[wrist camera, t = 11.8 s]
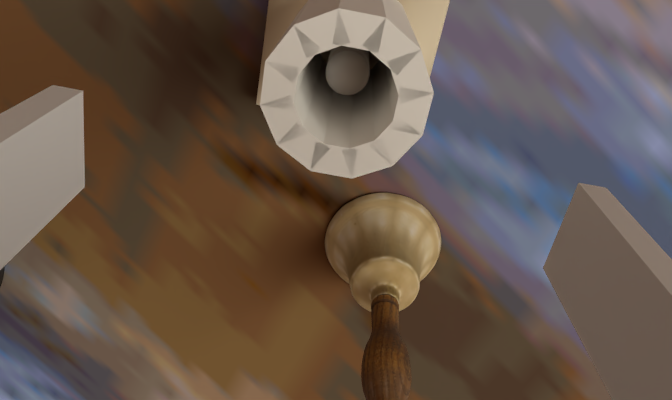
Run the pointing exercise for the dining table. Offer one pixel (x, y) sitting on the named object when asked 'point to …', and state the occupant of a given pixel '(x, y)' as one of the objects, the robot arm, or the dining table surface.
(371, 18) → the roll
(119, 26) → the dining table surface
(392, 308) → the hand bell
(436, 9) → the stand
